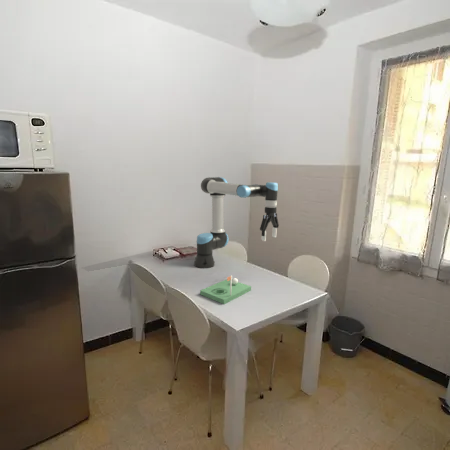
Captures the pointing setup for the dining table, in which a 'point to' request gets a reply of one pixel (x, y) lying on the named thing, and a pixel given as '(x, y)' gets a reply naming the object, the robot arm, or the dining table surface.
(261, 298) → the dining table surface
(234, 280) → the ball
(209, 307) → the dining table surface
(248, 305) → the dining table surface
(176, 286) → the dining table surface
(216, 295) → the mini golf green
